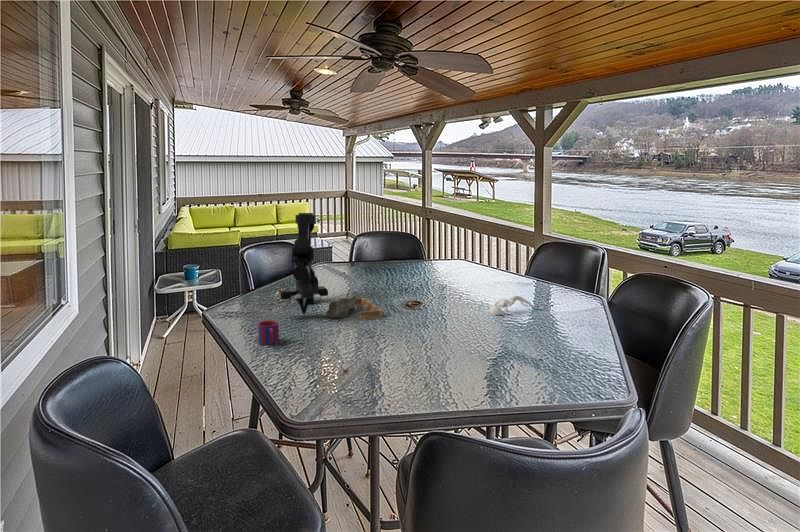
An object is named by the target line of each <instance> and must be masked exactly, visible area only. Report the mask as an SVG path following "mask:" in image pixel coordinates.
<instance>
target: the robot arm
mask: <svg viewBox="0 0 800 532" xmlns="http://www.w3.org/2000/svg"><path fill="white" fill-rule="evenodd" d="M294 218H295V221H294V222H295V224H297V229H298V233H297V238H296V239H295V240H294V242H293V246H291V247H292V248H291V263H295V264H294V265H295V266H294V269H293V271H292V275H293V278H294V279H295V290H291V289H288V288H286V289H284V288H283V289H279V290H278V292H277V295H278V298H279V299H280V300H282V301H283V300H290V299H291V297H292V298H293V299H294V300H295V301H297V303H298V306H299V308H300V310H301V311H300V312H301V313H302V314H303V315H305V314H306V312H307V309H308V306H309V305H315V304H317V302H316V300H315V295H318V296H320V297H328V295H329V289H327V288H326V287H325V286H319V279H318V277H317V276H316V272H315V270H314V268H313V266H312V263H313V261H314V259H315V258H314V257H315V249H314V248H313V246H312V232H313V230H314V228H315V224H317V216H316V214H314V213H313V212H299V213H298V214H295V217H294Z"/></svg>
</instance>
